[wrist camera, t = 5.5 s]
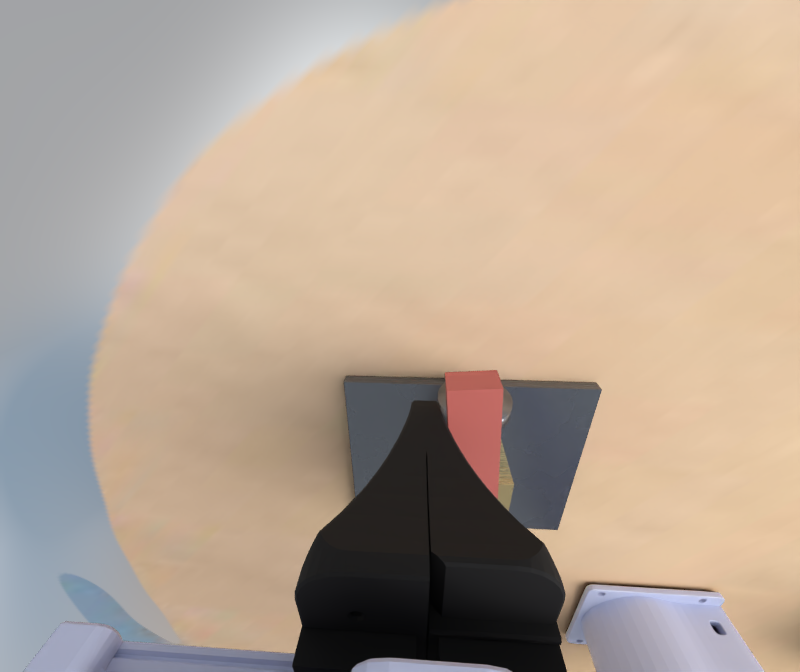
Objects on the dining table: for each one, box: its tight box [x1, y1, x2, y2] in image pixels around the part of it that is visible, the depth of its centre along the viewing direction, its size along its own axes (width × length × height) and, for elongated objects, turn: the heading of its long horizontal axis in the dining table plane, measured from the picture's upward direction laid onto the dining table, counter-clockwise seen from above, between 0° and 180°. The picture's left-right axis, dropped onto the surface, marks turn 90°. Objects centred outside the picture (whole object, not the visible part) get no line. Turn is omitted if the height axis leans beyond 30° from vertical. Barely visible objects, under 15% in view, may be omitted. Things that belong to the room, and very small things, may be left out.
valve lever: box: [445, 370, 503, 499], centre depth 14 cm, size 10×3×1 cm, turn 5°
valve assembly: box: [344, 376, 602, 530], centre depth 18 cm, size 12×13×4 cm
